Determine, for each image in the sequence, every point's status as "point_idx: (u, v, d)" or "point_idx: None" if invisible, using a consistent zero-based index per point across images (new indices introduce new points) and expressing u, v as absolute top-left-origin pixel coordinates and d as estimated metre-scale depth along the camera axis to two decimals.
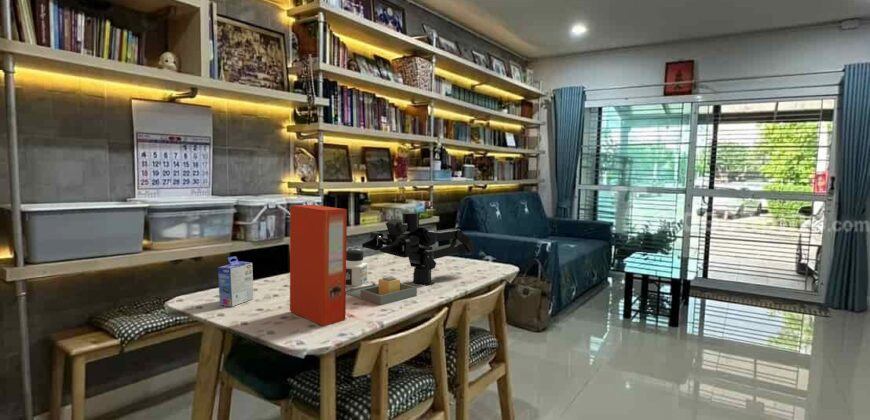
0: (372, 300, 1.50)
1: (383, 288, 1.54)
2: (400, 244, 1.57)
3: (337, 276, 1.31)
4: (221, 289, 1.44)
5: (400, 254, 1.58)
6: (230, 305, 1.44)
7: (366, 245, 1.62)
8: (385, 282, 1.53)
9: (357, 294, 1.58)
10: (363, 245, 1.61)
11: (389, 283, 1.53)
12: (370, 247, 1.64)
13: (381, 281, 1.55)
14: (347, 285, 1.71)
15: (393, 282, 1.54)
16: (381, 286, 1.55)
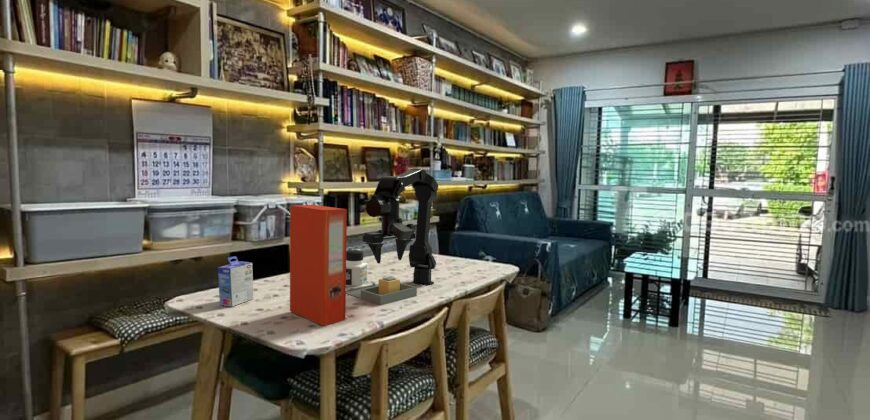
0: (372, 300, 1.50)
1: (383, 288, 1.54)
2: None
3: (337, 276, 1.31)
4: (221, 289, 1.44)
5: None
6: (230, 305, 1.44)
7: None
8: (385, 282, 1.53)
9: (357, 294, 1.58)
10: None
11: (389, 283, 1.53)
12: None
13: (381, 281, 1.55)
14: (347, 285, 1.71)
15: (393, 282, 1.54)
16: (381, 286, 1.55)
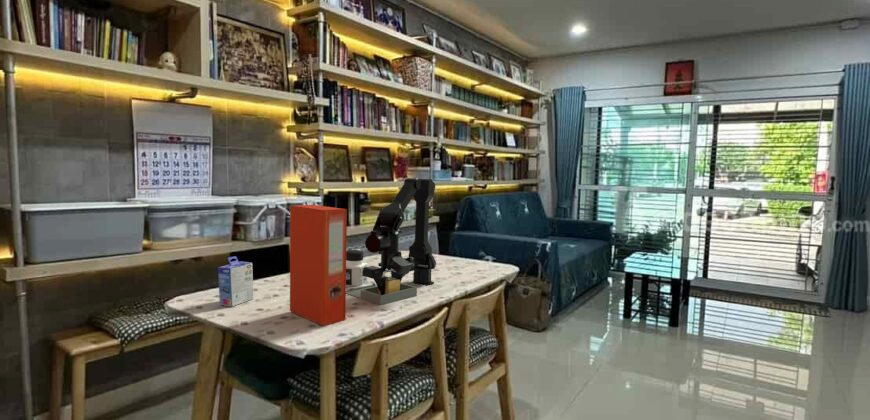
0: (372, 300, 1.50)
1: None
2: None
3: (337, 276, 1.31)
4: (221, 289, 1.44)
5: None
6: (230, 305, 1.44)
7: None
8: (385, 282, 1.53)
9: (357, 294, 1.58)
10: None
11: (389, 283, 1.53)
12: None
13: None
14: (347, 285, 1.71)
15: (393, 282, 1.54)
16: None
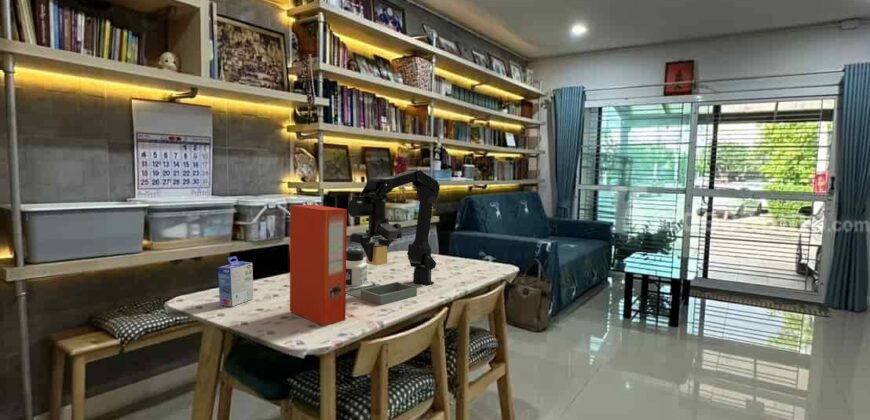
0: (372, 300, 1.50)
1: None
2: None
3: (337, 276, 1.31)
4: (221, 289, 1.44)
5: None
6: (230, 305, 1.44)
7: None
8: (373, 248, 1.57)
9: (357, 294, 1.58)
10: None
11: (377, 249, 1.56)
12: None
13: None
14: (347, 285, 1.71)
15: (381, 248, 1.57)
16: None
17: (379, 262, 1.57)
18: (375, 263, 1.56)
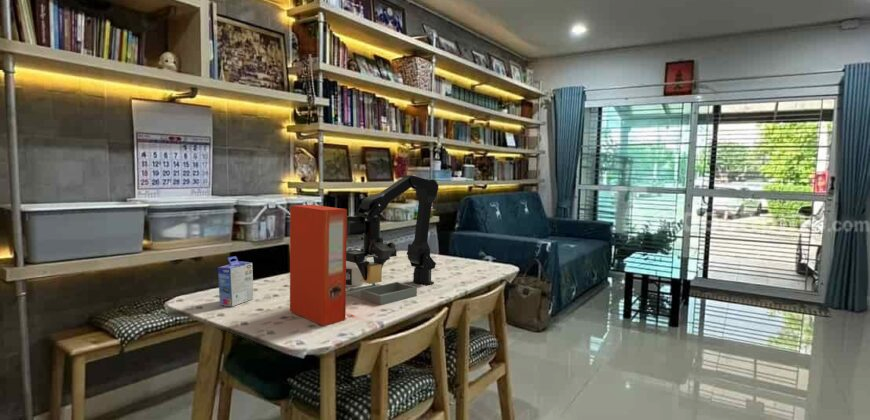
0: (372, 300, 1.50)
1: None
2: None
3: (337, 276, 1.31)
4: (221, 289, 1.44)
5: None
6: (230, 305, 1.44)
7: None
8: (367, 267, 1.59)
9: (357, 294, 1.58)
10: None
11: (371, 268, 1.59)
12: None
13: None
14: (347, 285, 1.71)
15: (375, 267, 1.60)
16: None
17: (374, 280, 1.60)
18: (369, 281, 1.59)
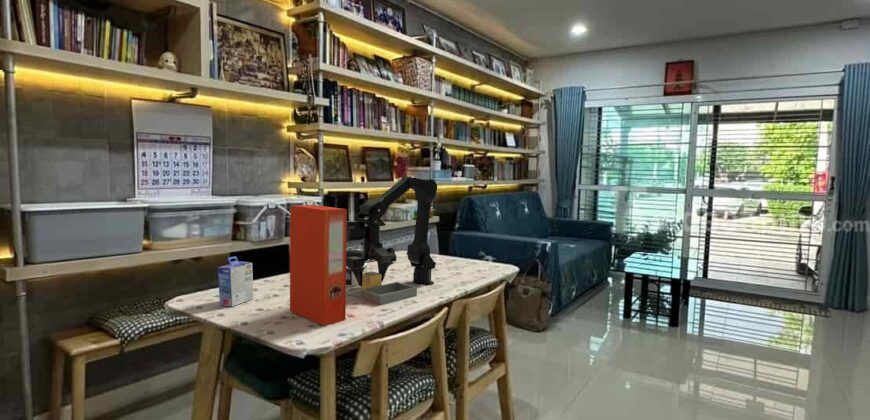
0: (372, 300, 1.50)
1: (365, 282, 1.61)
2: None
3: (337, 276, 1.31)
4: (221, 289, 1.44)
5: None
6: (230, 305, 1.44)
7: None
8: (367, 276, 1.60)
9: (357, 294, 1.58)
10: None
11: (371, 277, 1.59)
12: None
13: (363, 275, 1.61)
14: (347, 285, 1.71)
15: (375, 276, 1.60)
16: (363, 280, 1.61)
17: None
18: None
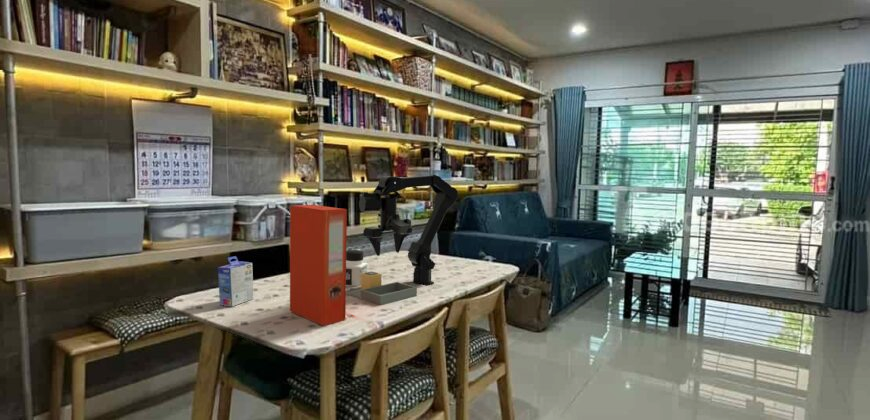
0: (372, 300, 1.50)
1: (365, 282, 1.61)
2: None
3: (337, 276, 1.31)
4: (221, 289, 1.44)
5: None
6: (230, 305, 1.44)
7: None
8: (367, 276, 1.60)
9: (357, 294, 1.58)
10: None
11: (371, 277, 1.59)
12: None
13: (363, 275, 1.61)
14: (347, 285, 1.71)
15: (375, 276, 1.60)
16: (363, 280, 1.61)
17: None
18: None
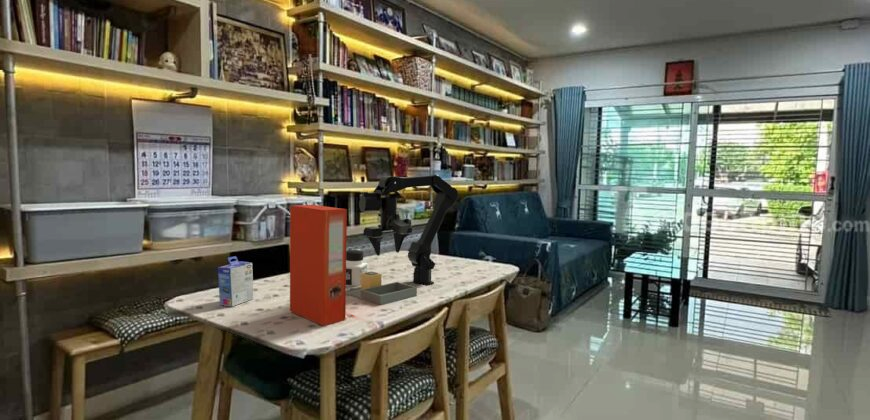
0: (372, 300, 1.50)
1: (365, 282, 1.61)
2: None
3: (337, 276, 1.31)
4: (221, 289, 1.44)
5: None
6: (230, 305, 1.44)
7: None
8: (367, 276, 1.60)
9: (357, 294, 1.58)
10: None
11: (371, 277, 1.59)
12: None
13: (363, 275, 1.61)
14: (347, 285, 1.71)
15: (375, 276, 1.60)
16: (363, 280, 1.61)
17: None
18: None
